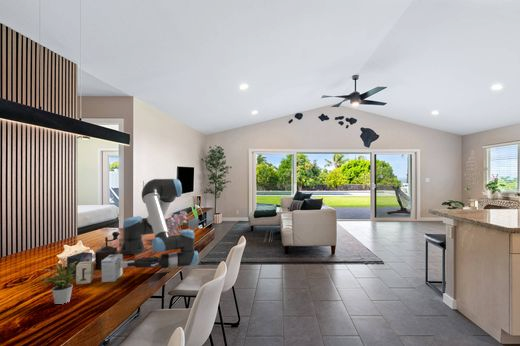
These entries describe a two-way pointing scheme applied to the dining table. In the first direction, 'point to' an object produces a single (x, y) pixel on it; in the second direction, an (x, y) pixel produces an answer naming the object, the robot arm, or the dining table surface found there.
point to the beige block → (84, 272)
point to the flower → (176, 222)
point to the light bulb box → (111, 268)
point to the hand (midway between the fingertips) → (120, 264)
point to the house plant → (61, 284)
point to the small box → (78, 260)
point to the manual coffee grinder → (105, 251)
